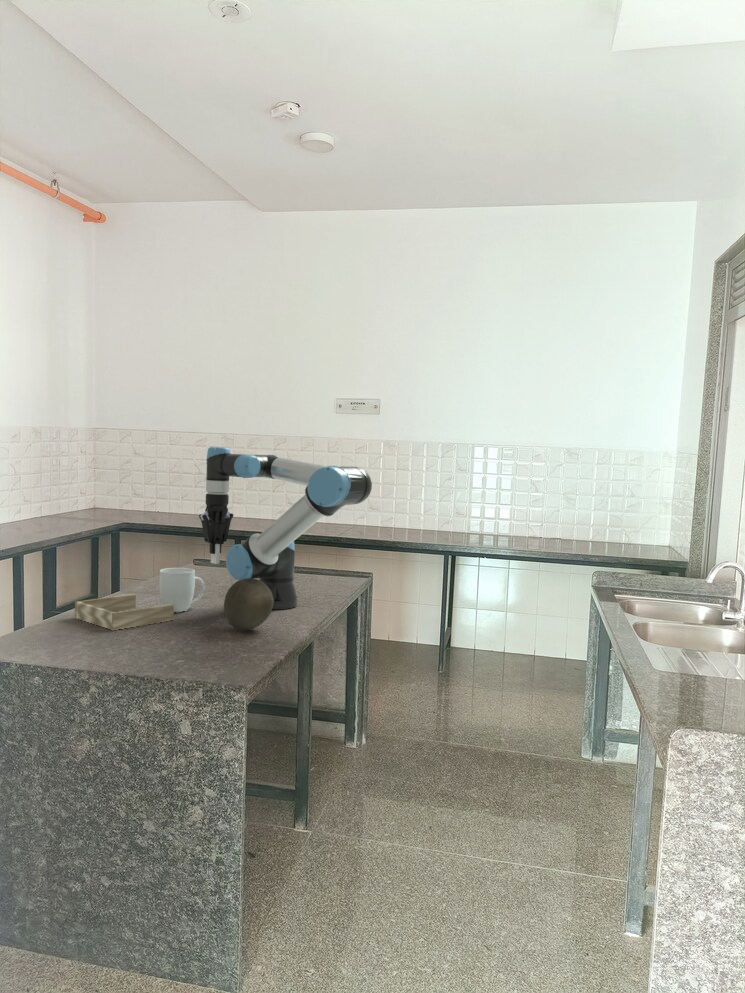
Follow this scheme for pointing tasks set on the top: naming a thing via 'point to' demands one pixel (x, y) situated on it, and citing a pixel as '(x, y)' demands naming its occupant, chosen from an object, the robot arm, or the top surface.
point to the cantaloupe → (248, 604)
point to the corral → (106, 607)
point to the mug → (178, 587)
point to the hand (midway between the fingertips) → (215, 563)
